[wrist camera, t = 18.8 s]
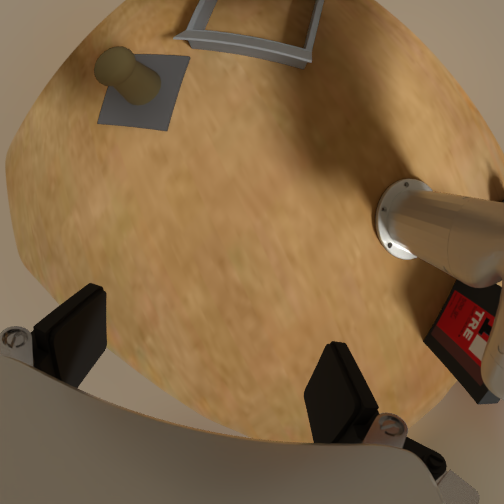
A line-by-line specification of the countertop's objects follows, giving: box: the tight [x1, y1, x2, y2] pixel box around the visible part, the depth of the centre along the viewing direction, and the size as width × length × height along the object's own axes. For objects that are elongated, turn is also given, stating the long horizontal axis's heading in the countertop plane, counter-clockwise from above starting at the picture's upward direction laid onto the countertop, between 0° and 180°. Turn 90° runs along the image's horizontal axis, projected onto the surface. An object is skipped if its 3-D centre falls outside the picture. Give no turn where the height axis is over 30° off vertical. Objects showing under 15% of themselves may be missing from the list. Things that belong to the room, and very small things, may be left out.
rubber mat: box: [97, 54, 190, 131], centre depth 32 cm, size 12×12×1 cm
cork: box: [94, 47, 161, 106], centre depth 26 cm, size 6×6×11 cm
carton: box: [174, 0, 324, 69], centre depth 25 cm, size 17×22×8 cm
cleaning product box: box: [423, 280, 502, 404], centre depth 32 cm, size 16×9×20 cm, turn 159°
